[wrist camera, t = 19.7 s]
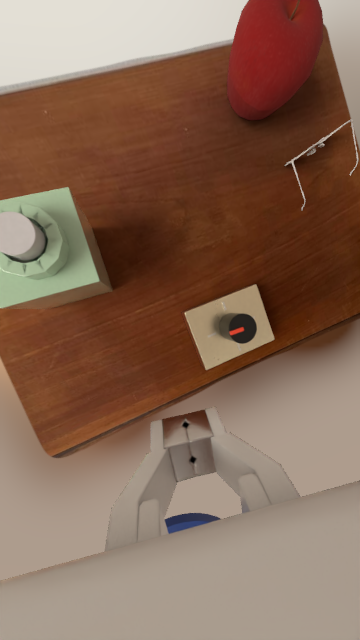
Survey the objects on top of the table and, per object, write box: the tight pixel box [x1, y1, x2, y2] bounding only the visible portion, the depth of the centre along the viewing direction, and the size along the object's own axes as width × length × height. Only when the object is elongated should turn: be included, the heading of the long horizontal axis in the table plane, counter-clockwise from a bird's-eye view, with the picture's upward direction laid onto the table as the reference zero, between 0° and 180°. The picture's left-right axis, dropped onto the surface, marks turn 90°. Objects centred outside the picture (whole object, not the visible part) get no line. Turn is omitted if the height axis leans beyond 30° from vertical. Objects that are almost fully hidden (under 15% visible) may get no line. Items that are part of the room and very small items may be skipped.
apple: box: [227, 0, 323, 120], centre depth 31 cm, size 12×12×13 cm
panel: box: [181, 284, 275, 370], centre depth 37 cm, size 10×13×3 cm
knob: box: [219, 313, 257, 344], centre depth 33 cm, size 4×4×4 cm
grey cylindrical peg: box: [0, 212, 46, 260], centre depth 19 cm, size 4×4×2 cm
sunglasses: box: [284, 119, 358, 210], centre depth 39 cm, size 14×8×5 cm, turn 126°
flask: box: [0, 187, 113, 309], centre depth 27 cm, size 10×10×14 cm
